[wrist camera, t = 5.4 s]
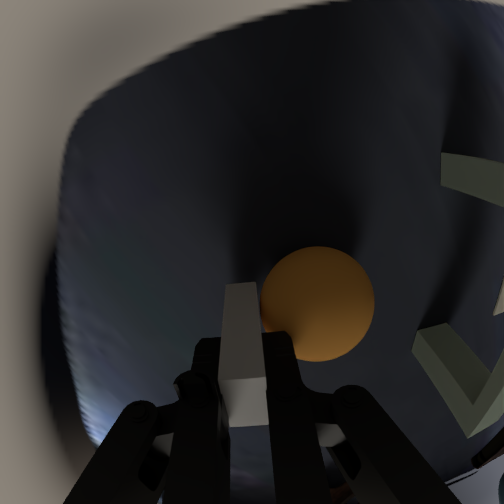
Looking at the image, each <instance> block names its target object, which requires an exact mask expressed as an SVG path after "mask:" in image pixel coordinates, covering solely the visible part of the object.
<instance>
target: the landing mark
mask: <svg viewBox="0 0 504 504" xmlns="http://www.w3.org/2000/svg"><path fill="white" fill-rule="evenodd" d="M502 312H504V278H503V282H502V286H501V289H500V293H499V296H498V299H497V302H496V305H495V308H494V311H493V314H492V315H493V316H494V315H497V314H499V313H502Z"/></svg>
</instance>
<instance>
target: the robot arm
mask: <svg viewBox="0 0 504 504" xmlns="http://www.w3.org/2000/svg"><path fill="white" fill-rule="evenodd" d="M173 385H174V387H175V390H176V392H177V395H178V397H179V400H178V401H176V402H175V403H172V404H169V405H164V406H160V407H156V406H155V405H154V404H153V403H151V402H149V401H143V400H140V401H135V402H132V403H130V404H129V405H127V406H126V407H125V408H124V409H123V411H122V413H121V414H120V416H119V417H118V419H117V420H116V422H115V423H114V425H113V426H112V428H111V429H110V431H109V432H108V434H107V435H106V437H105V438H104V440H103V441H102V443H101V445H100V446H99V448H98V449H97V451H96V452H95V454H94V455H93V457H92V458H91V460H90V462H89V463H88V465H87V466H86V468H85V469H84V471H83V473H82V474H81V476H80V477H79V479H78V481H77V482H76V484H75V485H74V487H73V488H72V490H71V492H70V493H69V495H68V496H67V498H66V499H65V501H64V503H63V504H157V502H158V500H159V498H160V496H161V494H162V491H163V489H164V487H165V489H164V496H163V503H162V504H230V436H229V432H228V426H229V425H230V427H241V426H256V425H268V424H269V431H270V442H271V452H272V463H273V473H274V484H275V494H276V504H333V503H332V498H331V493H330V489H329V484H328V479H327V475H326V470H325V466H324V461H323V457H322V453H321V448H320V446H325V447H326V449H327V450H328V452H329V454H330V455H331V457H332V459H333V460H334V462H335V464H336V465H337V467H338V469H339V470H340V472H341V474H342V475H343V477H344V479H345V480H346V482H347V483H348V485H349V487H350V488H351V490H352V492H353V493H354V495H355V496H356V498H357V500H358V501H359V503H360V504H462V503H461V502H460V501H459V500H458V499H457V497H456V496H455V495H454V494H453V493H452V491H451V490H450V489H449V488H448V486H447V485H446V484H445V483H444V482H443V480H442V479H441V478H440V477H439V476H438V474H437V473H436V472H435V471H434V470H433V468H432V467H431V466H430V465H429V464H428V462H427V461H426V460H425V459H424V458H423V456H422V455H421V454H420V453H419V452H418V450H417V449H416V448H415V447H414V446H413V444H412V443H411V442H410V441H409V439H408V438H407V437H406V436H405V435H404V433H403V432H402V431H401V430H400V429H399V427H398V426H397V425H396V424H395V423H394V421H393V420H392V419H391V418H390V417H389V415H388V414H387V413H386V412H385V411H384V409H383V408H382V407H381V406H380V405H379V403H378V402H377V401H376V400H375V399H374V397H373V396H372V395H371V394H370V393H369V392H368V391H367V390H366V389H365V388H363V387H360V386H358V385H346V386H342V387H340V388H339V389H337V390H336V391H335V392H334V393H333V394H328V393H319V392H315V391H312V390H310V389H309V388H307V387H306V386H305V385H304V384H303V382H302V379H301V375H300V371H299V367H298V363H297V359H296V355H295V350H294V347H293V342H292V338H291V337H290V336H289V334H288V333H287V332H286V331H276V332H266V333H261V327H260V317H259V308H258V298H257V289H256V282H247V283H236V284H226V291H225V301H224V312H223V323H222V335H221V337H215V338H202V339H201V340H200V341H199V342H198V344H197V345H196V346H195V351H194V357H193V363H192V367H191V370H189V371H186V372H184V373H182V374H180V375H179V376H178V377H177V378H176V379H175V381H174V383H173ZM498 490H499V493H498V494H499V503H500V504H504V473H503V475H502V477H501V479H500V483H499V489H498Z"/></svg>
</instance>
